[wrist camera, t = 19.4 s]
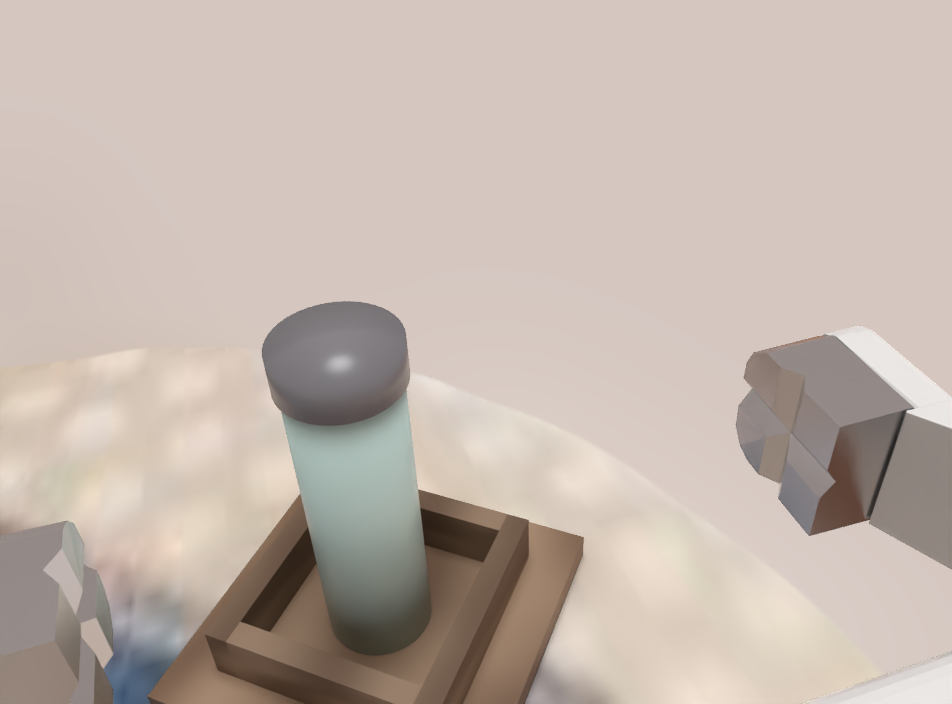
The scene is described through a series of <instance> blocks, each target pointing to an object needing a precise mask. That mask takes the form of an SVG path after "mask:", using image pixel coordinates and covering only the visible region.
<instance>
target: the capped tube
mask: <svg viewBox="0 0 952 704" xmlns="http://www.w3.org/2000/svg"><path fill="white" fill-rule="evenodd" d="M262 358H263V362H264V366H265V370H266V375H267V379H268V383H269V387H270V391H271V396H272V399H273V401H274V403H275V405H276V406H277V407H278V409H280V410H281V412H282V417H283V421H284V425H285V429H286V434H287V438H288V442H289V447H290V451H291V455H292V460H293V464H294V468H295V472H296V477H297V481H298V485H299V490H300V494H301V498H302V503H303V507H304V511H305V515H306V520H307V524H308V528H309V533H310V537H311V541H312V546H313V550H314V554H315V558H316V563H317V567H318V571H319V576H320V580H321V584H322V589H323V593H324V597H325V601H326V606H327V610H328V614H329V619H330V623H331V627H332V630H333V632H334V634H335V636H336V638H337V639H338V640H339V641H340V642H341V643H342V644H343V645H344V646H345V647H347V648H348V649H350V650H352V651H354V652H357V653H360V654H364V655H375V656H377V655H386V654H391V653H394V652H397V651H399V650H402V649H404V648H405V647H407V646H409V645H410V644H412V643H413V642H414V641H415V640H417V639H418V638H419V637H420V635H421V634H422V633H423V632H424V630H425V629H426V627H427V625H428V623H429V620H430V617H431V610H432V607H431V596H430V588H429V579H428V571H427V562H426V553H425V545H424V536H423V528H422V519H421V511H420V502H419V494H418V485H417V476H416V468H415V459H414V451H413V442H412V434H411V425H410V417H409V408H408V399H407V391H406V388H407V386H408V384H409V380H410V368H409V358H408V349H407V340H406V332H405V328H404V326H403V324H402V323H401V321H400V320H399V319H398V318H397V317H396V316H395V315H393V314H392V313H391V312H389V311H388V310H385V309H384V308H381V307H378V306H375V305H371V304H368V303H362V302H332V303H325V304H320V305H316V306H313V307H309V308H306V309H304V310H301V311H299V312H296V313H294V314H293V315H291V316H289V317H287V318H285V319H284V320H283V321H281V322H280V323H279V324H277V325H276V326H275V327H274V328H273V329H272V330H271V331H270V333H269V334H268V336H267V337H266V339H265V341H264V343H263V347H262Z"/></svg>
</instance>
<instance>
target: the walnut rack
mask: <svg viewBox="0 0 952 704" xmlns="http://www.w3.org/2000/svg"><path fill="white" fill-rule="evenodd" d="M418 494H419V502H420V511H421V519H422V528H423V536H424V545H425V553H426V562H427V571H428V579H429V588H430V596H431V607H432V610H431V617H430V620H429V623H428V625H427V627H426V629H425V630H424V632H423V633H422V634H421V635H420V637H419V638H418V639H417V640H415V641H414V642H413V643H412V644H410V645H409V646H407V647H405V648H404V649H402V650H399V651H397V652H394V653H391V654H386V655H377V656H375V655H364V654H360V653H357V652H354V651H352V650H350V649H348V648H347V647H345V646H344V645H343V644H342V643H341V642H340V641H339V640H338V639H337V638H336V636H335V634H334V632H333V630H332V627H331V623H330V619H329V614H328V610H327V606H326V601H325V597H324V593H323V589H322V584H321V580H320V576H319V571H318V567H317V563H316V558H315V554H314V550H313V546H312V541H311V537H310V533H309V528H308V524H307V520H306V515H305V511H304V507H303V503H302V498H301V494H300V495H299V496H298V497H297V499H296V500H295V501H294V503H293V504H292V505H291V507H290V508H289V509H288V511H287V512H286V513H285V515H284V516H283V517H282V519H281V520H280V521H279V523H278V524H277V525H276V527H275V528H274V529H273V531H272V532H271V533H270V535H269V536H268V537H267V539H266V540H265V541H264V543H263V544H262V545H261V546H260V548H259V549H258V550H257V552H256V553H255V554H254V556H253V557H252V558H251V560H250V561H249V562H248V564H247V565H246V566H245V568H244V569H243V570H242V572H241V573H240V574H239V576H238V577H237V578H236V580H235V581H234V582H233V584H232V585H231V586H230V588H229V589H228V590H227V592H226V593H225V594H224V596H223V597H222V598H221V600H220V601H219V602H218V604H217V605H216V606H215V607H214V609H213V610H212V611H211V613H210V614H209V615H208V617H207V618H206V619H205V621H204V622H203V623H202V625H201V626H200V627H199V629H198V630H197V631H196V633H195V634H194V635H193V637H192V638H191V639H190V641H189V642H188V643H187V645H186V646H185V647H184V649H183V650H182V651H181V653H180V654H179V655H178V657H177V658H176V659H175V661H174V662H173V663H172V665H171V666H170V667H169V669H168V670H167V671H166V672H165V674H164V675H163V676H162V678H161V679H160V680H159V682H158V683H157V684H156V686H155V687H154V688H153V690H152V691H151V692H150V694H149V695H148V696H147V697H148V699H149V701H150V703H151V704H524V703H525V700H526V698H527V695H528V693H529V690H530V687H531V685H532V682H533V680H534V677H535V675H536V672H537V670H538V667H539V665H540V662H541V659H542V657H543V654H544V652H545V649H546V647H547V644H548V642H549V639H550V636H551V634H552V631H553V629H554V626H555V624H556V621H557V619H558V616H559V613H560V611H561V608H562V606H563V603H564V601H565V598H566V596H567V593H568V591H569V588H570V585H571V583H572V580H573V578H574V575H575V573H576V570H577V568H578V565H579V562H580V560H581V557H582V555H583V540H584V537H581V536H577V535H574V534H570V533H566V532H563V531H559V530H556V529H552V528H548V527H545V526H541V525H538V524H534V523H530V522H529V520H526V519H523V518H519V517H515V516H512V515H508V514H505V513H501V512H497V511H494V510H490V509H487V508H483V507H479V506H476V505H472V504H469V503H465V502H461V501H458V500H454V499H451V498H447V497H443V496H440V495H436V494H433V493H429V492H425V491H422V490H418Z"/></svg>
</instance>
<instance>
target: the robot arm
mask: <svg viewBox="0 0 952 704" xmlns="http://www.w3.org/2000/svg"><path fill="white" fill-rule="evenodd" d="M744 379H745V381H746V382H747V383H748V384H749V386H750V387H751V388H752V389H751V391H750V392H749V393H748V394H747V396H746V397H745V398H744V399H743V401H742V402H741V403H740V404H739V407H738V414H737V422H736V428H737V433H738V438H739V442H740V446H741V448H742V450H743V452H744V454H745V456H746V458H747V460H748V462H749V463H750V464H751V465H752V467H753V468H754V469H755V471H756V472H757V473H758V474H759V475H761V476H764V477H766V478H768V479H771V480H773V481H775V482H777V483H779V494H778V495H779V496H778V499H779V500H780V501H781V503H782V504H783V505H784V506H785V507H786V509H787V510H788V511H789V512H790V513H791V515H792V516H793V517H794V518H795V520H796V521H797V522H798V523H799V524H800V526H801V527H802V528H803V529H804V530H805V532H806V533H807V534H808V535H809V536H811V535H815V534H819V533H822V532H826V531H830V530H834V529H837V528H841V527H845V526H849V525H852V524H856V523H860V522H863V521H867V520H870V521H869V524H871V525H873V526H874V527H876V528H878V529H880V530H882V531H883V532H885V533H887V534H889V535H891V536H893V537H894V538H896V539H898V540H900V541H901V542H903V543H905V544H907V545H909V546H910V547H912V548H914V549H916V550H918V551H920V552H922V553H923V554H925V555H927V556H928V557H930V558H932V559H934V560H936V561H938V562H939V563H941V564H943V565H945V566H947V567H948V568H950V569H952V397H951V396H949V395H948V394H947V393H946V392H945V391H943V390H942V389H941V388H940V387H939V386H938V385H936V384H935V383H934V382H933V381H932V380H931V379H929V378H928V377H927V376H926V375H925V374H923V373H922V372H921V371H920V370H919V369H917V368H916V367H915V366H914V365H913V364H911V363H910V362H909V361H908V360H907V359H906V358H904V357H903V356H902V355H901V354H900V353H898V352H897V351H896V350H895V349H894V348H892V347H891V346H890V345H889V344H888V343H887V342H885V341H884V340H883V339H882V338H881V337H879V336H878V335H877V334H876V333H875V332H873V331H872V330H871V329H869V328H866V327H863V326H860V325H858V326H854V327H850V328H846V329H842V330H839V331H835V332H831V333H828V334H824V335H823V336H817V337H813V338H809V339H805V340H801V341H797V342H794V343H790V344H785V345H781V346H778V347H774V348H770V349H766V350H762V351H758V352H754V353H753V354H752V356H751V357H750V359H749V360H748V362H747V364H746V370H745V374H744ZM112 655H113V628H112V621H111V614H110V608H109V603H108V600H107V596H106V593H105V590H104V586H103V584H102V582H101V579H100V577H99V575H98V573H97V571H96V570H94V569H91V568H89V567H87V566H85V565H84V542H83V540H82V538H81V536H80V534H79V533H78V531H77V529H76V527H75V525H74V523H72V522H69V521H64V522H59V523H55V524H50V525H46V526H41V527H37V528H32V529H28V530H23V531H19V532H14V533H10V534H5V535H1V536H0V704H113V689H112V687H111V685H110V683H109V681H108V679H107V676H106V674H105V672H104V670H103V668H104V667H105V665H106V664H107V662H108V661H109V660H110V658H111V657H112ZM801 704H952V651H951V652H948V653H945V654H942V655H939V656H936V657H933V658H931V659H928V660H925V661H922V662H919V663H916V664H913V665H910V666H908V667H905V668H902V669H899V670H896V671H893V672H890V673H887V674H885V675H882V676H879V677H876V678H873V679H870V680H867V681H864V682H862V683H859V684H856V685H853V686H850V687H847V688H844V689H841V690H839V691H836V692H833V693H830V694H827V695H824V696H821V697H818V698H816V699H813V700H810V701H807V702H804V703H801Z"/></svg>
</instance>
